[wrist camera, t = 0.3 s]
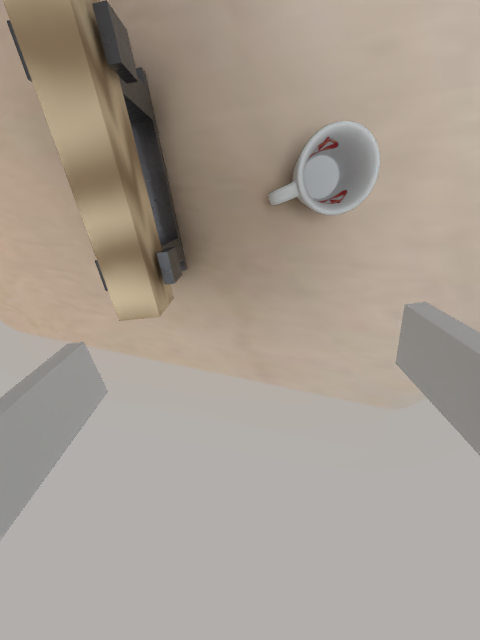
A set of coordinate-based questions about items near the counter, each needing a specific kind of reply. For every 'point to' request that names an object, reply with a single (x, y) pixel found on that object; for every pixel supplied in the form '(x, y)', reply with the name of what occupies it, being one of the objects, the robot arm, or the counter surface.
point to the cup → (334, 169)
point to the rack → (139, 137)
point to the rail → (94, 147)
